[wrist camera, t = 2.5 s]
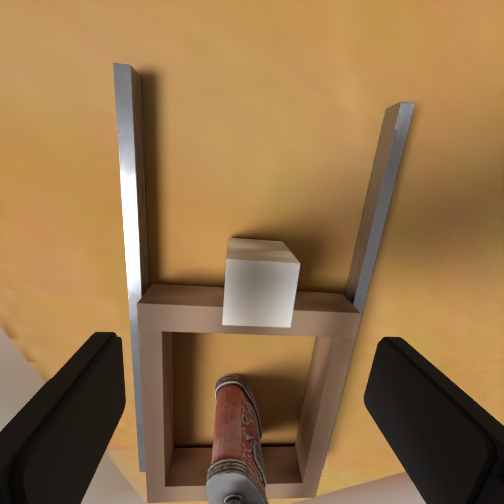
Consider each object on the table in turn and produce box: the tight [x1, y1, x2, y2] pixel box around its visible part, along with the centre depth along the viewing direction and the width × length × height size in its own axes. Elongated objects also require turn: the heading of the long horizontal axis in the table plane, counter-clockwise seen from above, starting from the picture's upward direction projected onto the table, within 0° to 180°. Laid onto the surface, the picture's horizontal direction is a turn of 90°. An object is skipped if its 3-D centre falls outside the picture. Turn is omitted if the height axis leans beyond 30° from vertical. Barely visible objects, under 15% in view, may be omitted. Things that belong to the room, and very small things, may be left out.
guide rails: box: [113, 63, 415, 472], centre depth 19 cm, size 18×32×2 cm, turn 175°
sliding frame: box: [137, 238, 361, 503], centre depth 18 cm, size 15×23×5 cm, turn 175°
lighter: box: [206, 374, 268, 504], centre depth 17 cm, size 8×3×10 cm, turn 16°
